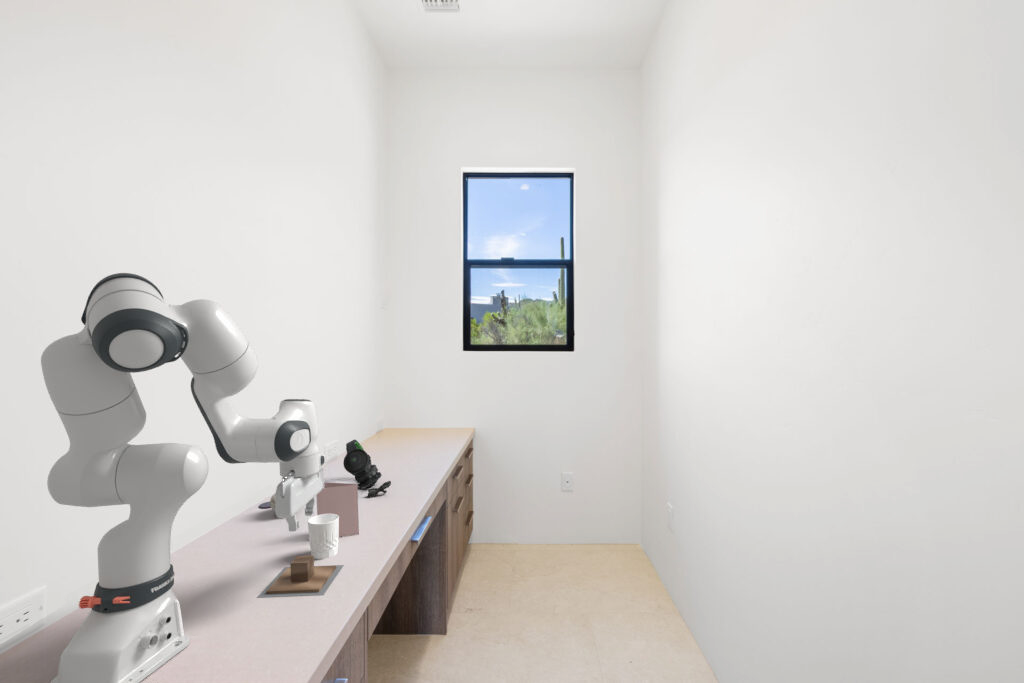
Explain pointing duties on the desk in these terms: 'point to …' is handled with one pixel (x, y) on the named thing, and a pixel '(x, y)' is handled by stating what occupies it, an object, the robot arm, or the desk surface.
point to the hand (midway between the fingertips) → (302, 522)
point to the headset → (363, 468)
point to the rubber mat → (321, 592)
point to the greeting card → (340, 505)
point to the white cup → (324, 535)
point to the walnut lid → (302, 577)
